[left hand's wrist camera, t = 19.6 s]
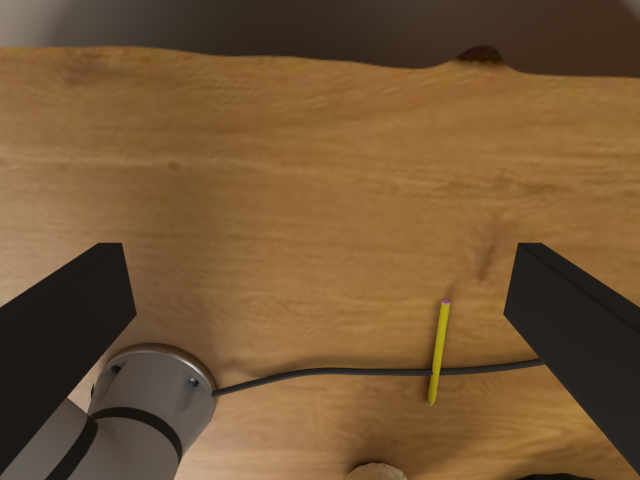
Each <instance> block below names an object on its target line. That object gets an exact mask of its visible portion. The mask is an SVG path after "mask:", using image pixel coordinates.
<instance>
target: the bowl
mask: <svg viewBox="0 0 640 480" xmlns="http://www.w3.org/2000/svg"><path fill="white" fill-rule="evenodd" d="M344 480H407V478H406V476H405V475H404V473H403V472H402V471H401V470H399V469H397V468H395V467H393V466H390V465H387V464H385V463H380V464H379V463H369V464H367V465H362V466H359V467H357V468H356V469H354V470H353V471H352V472H351V473H349V474H348V475H347V476H346V477H345V478H344Z"/></svg>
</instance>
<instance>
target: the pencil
mask: <svg viewBox="0 0 640 480" xmlns="http://www.w3.org/2000/svg"><path fill="white" fill-rule="evenodd" d="M449 308H450V300H448V299H442V302H441V309H440V316H439V323H438V330H437V337H436V344H435V351H434V358H433V365H432V372H433V375H431V379H430V386H429V393H428V401H429V405H430V407H431V406H432V404H433V403H434V402H435V399H436V392H437V386H438V379H439V373H440V366H441V360H442V353H443V347H444V340H445V334H446V327H447V321H448V314H449Z"/></svg>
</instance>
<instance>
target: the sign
mask: <svg viewBox="0 0 640 480" xmlns="http://www.w3.org/2000/svg"><path fill="white" fill-rule="evenodd" d="M521 480H593V479H585V478H579V477H576V476H573V475H569V474H559V475H552V476H548V475H534V476H530V477H527V478H524V479H521Z"/></svg>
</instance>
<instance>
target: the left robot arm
mask: <svg viewBox="0 0 640 480" xmlns="http://www.w3.org/2000/svg"><path fill="white" fill-rule="evenodd" d="M136 315H137V313H136V309H135V304H134V299H133V294H132V290H131V285H130V280H129V275H128V270H127V266H126V261H125V256H124V251H123V246H122V243H98V244H96V245H95V246H93V247H92V248H90V249H88V250H87V251H85V252H84V253H82V254H81V255H79V256H78V257H76V258H75V259H73V260H72V261H70V262H69V263H67V264H66V265H64V266H63V267H61V268H60V269H58V270H57V271H55V272H54V273H52V274H50V275H49V276H47V277H46V278H44V279H43V280H41V281H40V282H38V283H37V284H35V285H34V286H32V287H31V288H29V289H28V290H26V291H25V292H23V293H22V294H20V295H19V296H17V297H15V298H14V299H12V300H11V301H9V302H8V303H6V304H5V305H3V306H2V307H0V480H174V477H175V475H176V472H177V469H178V466H179V464H180V461H181V459H182V457H183V455H184V454H185V453H186V452H187V450H188V449H189V448H190V447H191V445H192V444H193V443H194V442H195V440H196V439H197V438H198V437H199V435H200V434H201V433H202V432H203V431H204V429H205V428H206V427H207V426H208V424H209V423H210V421H211V419H212V417H213V414H214V411H215V408H216V405H217V401H218V396H220V395H224V394H228V393H232V392H236V391H240V390H243V389H247V388H251V387H255V386H259V385H263V384H267V383H271V382H275V381H280V380H284V379H289V378H294V377H300V376H307V375H318V374H348V375H398V376H428V375H433V372H432V369H356V368H314V369H304V370H297V371H292V372H286V373H282V374H278V375H274V376H270V377H266V378H262V379H257V380H253V381H249V382H245V383H241V384H238V385H234V386H230V387H226V388H222V389H217V385H216V382H215V380H214V378H213V376H212V374H211V373H210V371H209V370H208V368H207V367H206V366H205V365H204V364H203V363H202V362H201V361H199V360H198V359H197V358H196V357H194V356H193V355H191V354H189V353H188V352H186V351H183V350H181V349H179V348H176V347H173V346H169V345H164V344H153V343H152V344H140V345H135V346H132V347H129V348H126V349H124V350H122V351H121V352H119V353H118V354H116V355H115V356H114V357H113V358H112V359H111V360H110V361H109V363H108V364H107V365H106V366H105V368H104V369H103V370H102V372H101V373H100V375H99V377H98V380H97V382H96V386H95V389H94V384H93V387H92V390H91V402H90V405H89V409H88V412H87V413H85V412H84V411H83V410H82V409H81V408H79V407H78V406H77V405H76V404H75V403H73V402H72V401H71V400H70V399H68V398H67V396H68V395H69V394H70V393H71V392H72V390H73V389H74V388H75V387H76V386H77V385H78V383H79V382H80V381H81V380H82V379H83V377H84V376H85V375H86V374H87V373H88V372H89V370H90V369H91V368H92V367H93V366H94V364H95V363H96V362H97V361H98V360H99V359H100V357H101V356H102V355H103V354H104V353H105V351H106V350H107V349H108V348H109V347H110V345H111V344H112V343H113V342H114V341H115V340H116V338H117V337H118V336H119V335H120V334H121V332H122V331H123V330H124V329H125V328H126V327H127V325H128V324H129V323H130V322H131V321H132V319H133V318H134V317H135V316H136ZM503 315H504V316H505V317H506V318H507V319H508V321H509V322H510V323H511V324H512V325H513V327H514V328H515V329H516V330H517V331H518V332H519V334H520V335H521V336H522V337H523V338H524V340H525V341H526V342H527V343H528V344H529V345H530V347H531V348H532V349H533V350H534V351H535V353H536V354H537V355H538V356H539V357H540V359H534V360H528V361H522V362H515V363H508V364H500V365H491V366H480V367H468V368H449V369H440V373H439V375H458V374H474V373H486V372H496V371H505V370H513V369H520V368H526V367H533V366H539V365H545V364H546V366H547V367H548V368H549V369H550V370H551V372H552V373H553V374H554V375H555V376H556V377H557V379H558V380H559V381H560V382H561V383H562V385H563V386H564V387H565V388H566V389H567V390H568V392H569V393H570V394H571V395H572V396H573V398H574V399H575V400H576V401H577V402H578V404H579V405H580V406H581V407H582V408H583V409H584V411H585V412H586V413H587V414H588V415H589V417H590V418H591V419H592V420H593V421H594V422H595V424H596V425H597V426H598V427H599V428H600V430H601V431H602V432H603V433H604V434H605V436H606V437H607V438H608V439H609V440H610V441H611V443H612V444H613V445H614V446H615V447H616V449H617V450H618V451H619V452H620V453H621V454H622V456H623V457H624V458H625V459H626V460H627V462H628V463H629V464H630V465H631V466H632V467H633V469H634V470H635V471H636V472H637V473H638V475H639V476H640V307H638V306H637V305H635V304H634V303H632V302H631V301H629V300H628V299H626V298H625V297H623V296H621V295H620V294H618V293H617V292H615V291H614V290H612V289H611V288H609V287H608V286H606V285H605V284H603V283H602V282H600V281H599V280H597V279H596V278H594V277H593V276H591V275H590V274H588V273H586V272H585V271H583V270H582V269H580V268H579V267H577V266H576V265H574V264H573V263H571V262H570V261H568V260H567V259H565V258H564V257H562V256H561V255H559V254H558V253H556V252H555V251H553V250H552V249H550V248H548V247H547V246H545V245H544V244H542V243H518V246H517V251H516V256H515V261H514V266H513V270H512V275H511V280H510V285H509V290H508V294H507V299H506V304H505V309H504V313H503Z"/></svg>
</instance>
